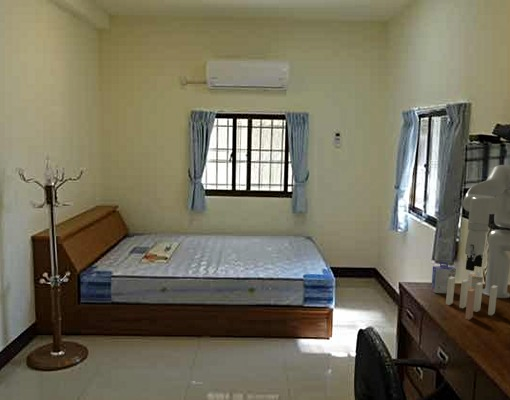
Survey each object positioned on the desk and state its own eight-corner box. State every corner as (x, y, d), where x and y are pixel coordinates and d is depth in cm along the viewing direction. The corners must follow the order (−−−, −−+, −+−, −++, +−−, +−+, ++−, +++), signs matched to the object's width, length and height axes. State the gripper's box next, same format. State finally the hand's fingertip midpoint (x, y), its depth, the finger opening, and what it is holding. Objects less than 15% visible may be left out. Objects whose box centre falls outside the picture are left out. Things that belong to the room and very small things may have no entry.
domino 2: (462, 305, 232) (465, 279, 230) (466, 306, 231) (468, 280, 229) (459, 307, 228) (461, 281, 227) (462, 308, 227) (465, 281, 226)
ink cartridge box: (450, 290, 254) (453, 261, 252) (454, 294, 249) (457, 264, 247) (430, 289, 254) (432, 260, 252) (433, 293, 249) (436, 263, 247)
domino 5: (490, 312, 224) (493, 285, 223) (494, 313, 223) (497, 286, 222) (487, 314, 221) (490, 287, 219) (491, 315, 220) (494, 288, 218)
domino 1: (449, 302, 236) (451, 276, 234) (452, 303, 235) (455, 277, 233) (445, 304, 232) (448, 278, 231) (449, 305, 231) (451, 279, 230)
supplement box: (480, 305, 233) (483, 277, 231) (469, 304, 234) (472, 276, 232) (476, 299, 241) (479, 272, 239) (465, 298, 242) (468, 271, 240)
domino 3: (468, 316, 218) (471, 288, 216) (472, 317, 217) (475, 289, 215) (465, 318, 214) (467, 290, 213) (469, 319, 213) (471, 291, 212)
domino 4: (476, 308, 228) (479, 282, 227) (480, 309, 227) (482, 283, 226) (473, 310, 225) (475, 284, 223) (477, 311, 224) (479, 284, 222)
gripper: (475, 223, 220) (471, 263, 222) (461, 227, 206) (457, 269, 208) (493, 226, 215) (489, 266, 217) (480, 230, 202) (476, 273, 204)
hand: (473, 268), depth 213 cm, fingers open, 9 cm apart
